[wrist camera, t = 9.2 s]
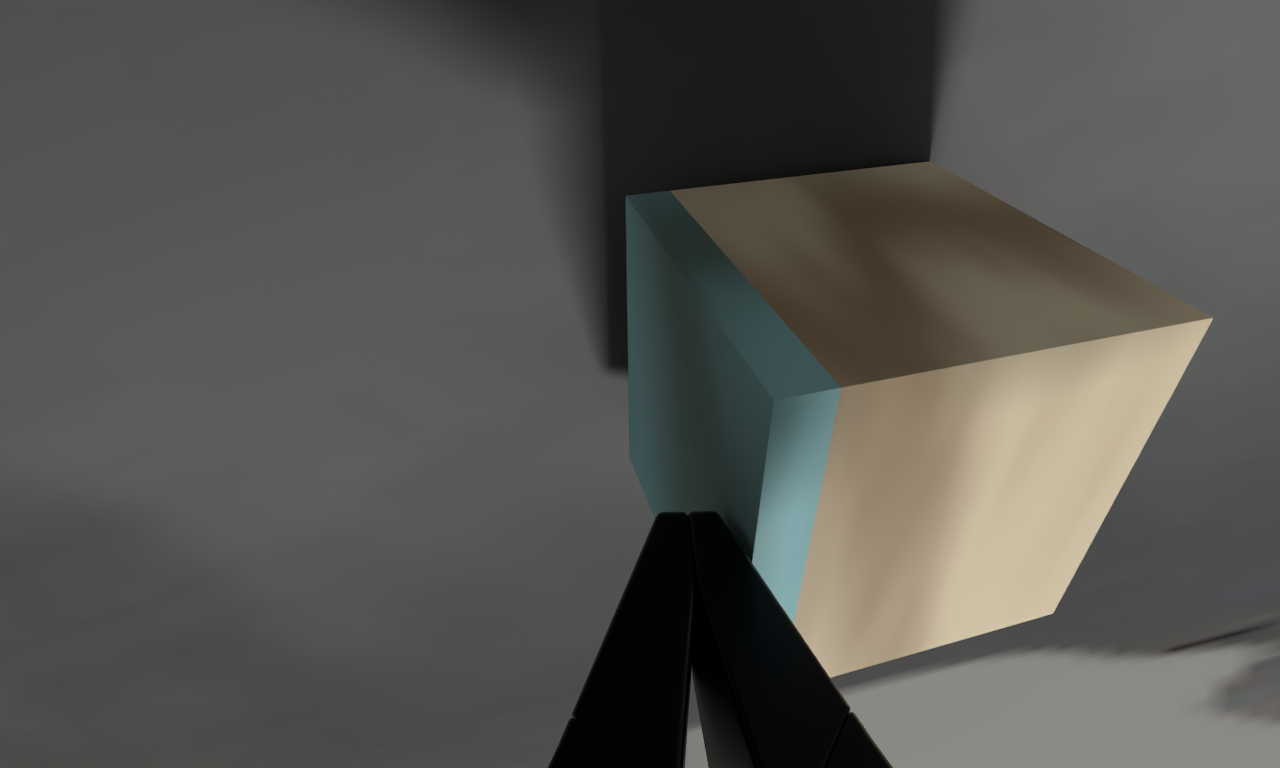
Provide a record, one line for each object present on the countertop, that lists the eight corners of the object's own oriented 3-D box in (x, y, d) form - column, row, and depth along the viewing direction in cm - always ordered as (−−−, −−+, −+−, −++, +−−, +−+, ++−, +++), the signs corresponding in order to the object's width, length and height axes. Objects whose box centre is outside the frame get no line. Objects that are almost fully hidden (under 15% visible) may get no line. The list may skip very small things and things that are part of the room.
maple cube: (732, 705, 11) (1052, 613, 13) (773, 400, 8) (1213, 317, 9) (629, 456, 16) (871, 409, 17) (625, 195, 12) (930, 161, 14)
